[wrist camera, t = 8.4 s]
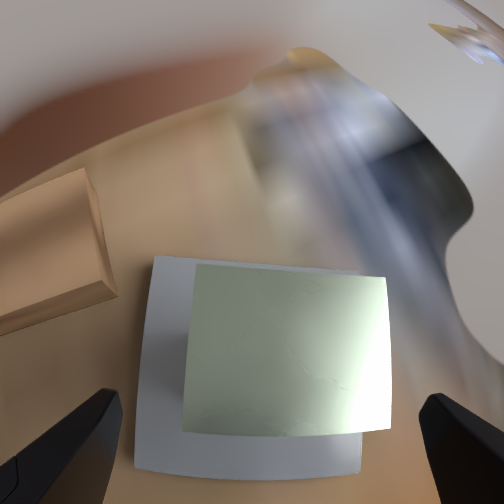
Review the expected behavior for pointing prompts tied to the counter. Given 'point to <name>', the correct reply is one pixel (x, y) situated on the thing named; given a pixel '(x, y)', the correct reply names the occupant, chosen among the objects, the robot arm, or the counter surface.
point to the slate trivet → (172, 394)
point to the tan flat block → (52, 252)
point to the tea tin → (286, 353)
